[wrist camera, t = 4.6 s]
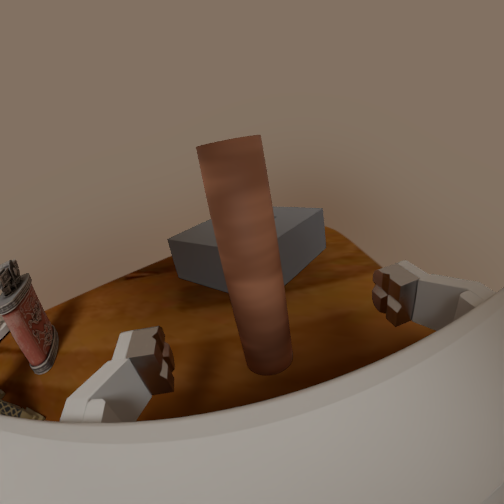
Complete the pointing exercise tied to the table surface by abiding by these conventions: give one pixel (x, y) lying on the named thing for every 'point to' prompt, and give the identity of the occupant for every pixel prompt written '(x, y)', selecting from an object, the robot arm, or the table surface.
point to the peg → (248, 248)
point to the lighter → (27, 318)
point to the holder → (288, 235)
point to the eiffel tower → (17, 410)
